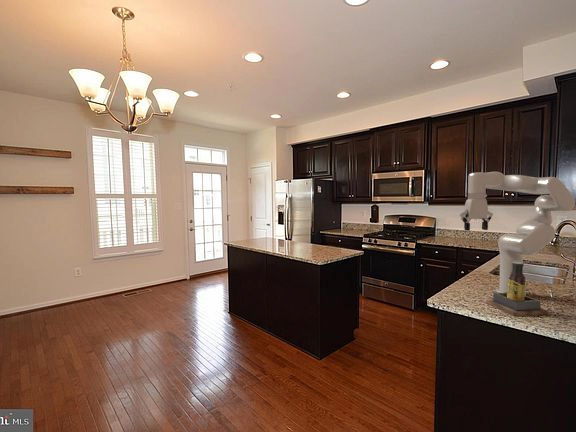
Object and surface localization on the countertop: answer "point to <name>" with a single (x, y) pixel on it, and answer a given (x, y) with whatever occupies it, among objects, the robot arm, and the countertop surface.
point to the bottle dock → (516, 305)
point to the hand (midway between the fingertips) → (475, 230)
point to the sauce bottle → (516, 282)
